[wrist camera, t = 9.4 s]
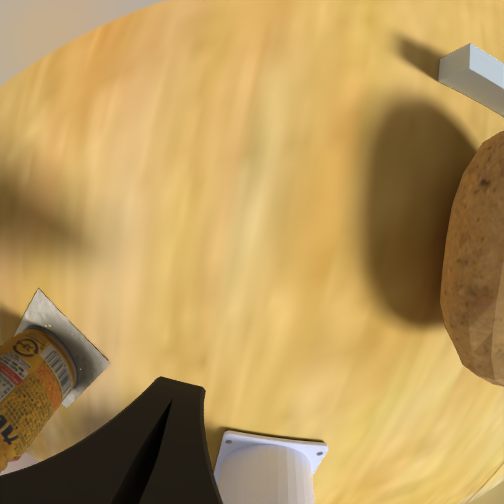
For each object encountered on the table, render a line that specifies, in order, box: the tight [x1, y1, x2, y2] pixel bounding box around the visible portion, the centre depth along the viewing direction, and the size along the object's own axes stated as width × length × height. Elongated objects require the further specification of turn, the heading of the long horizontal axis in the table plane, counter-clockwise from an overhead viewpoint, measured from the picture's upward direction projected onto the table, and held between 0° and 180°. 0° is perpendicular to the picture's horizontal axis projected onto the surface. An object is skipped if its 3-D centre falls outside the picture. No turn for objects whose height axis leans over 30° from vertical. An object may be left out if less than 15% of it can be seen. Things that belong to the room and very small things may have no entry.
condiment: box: [0, 289, 110, 472], centre depth 15 cm, size 7×8×12 cm
